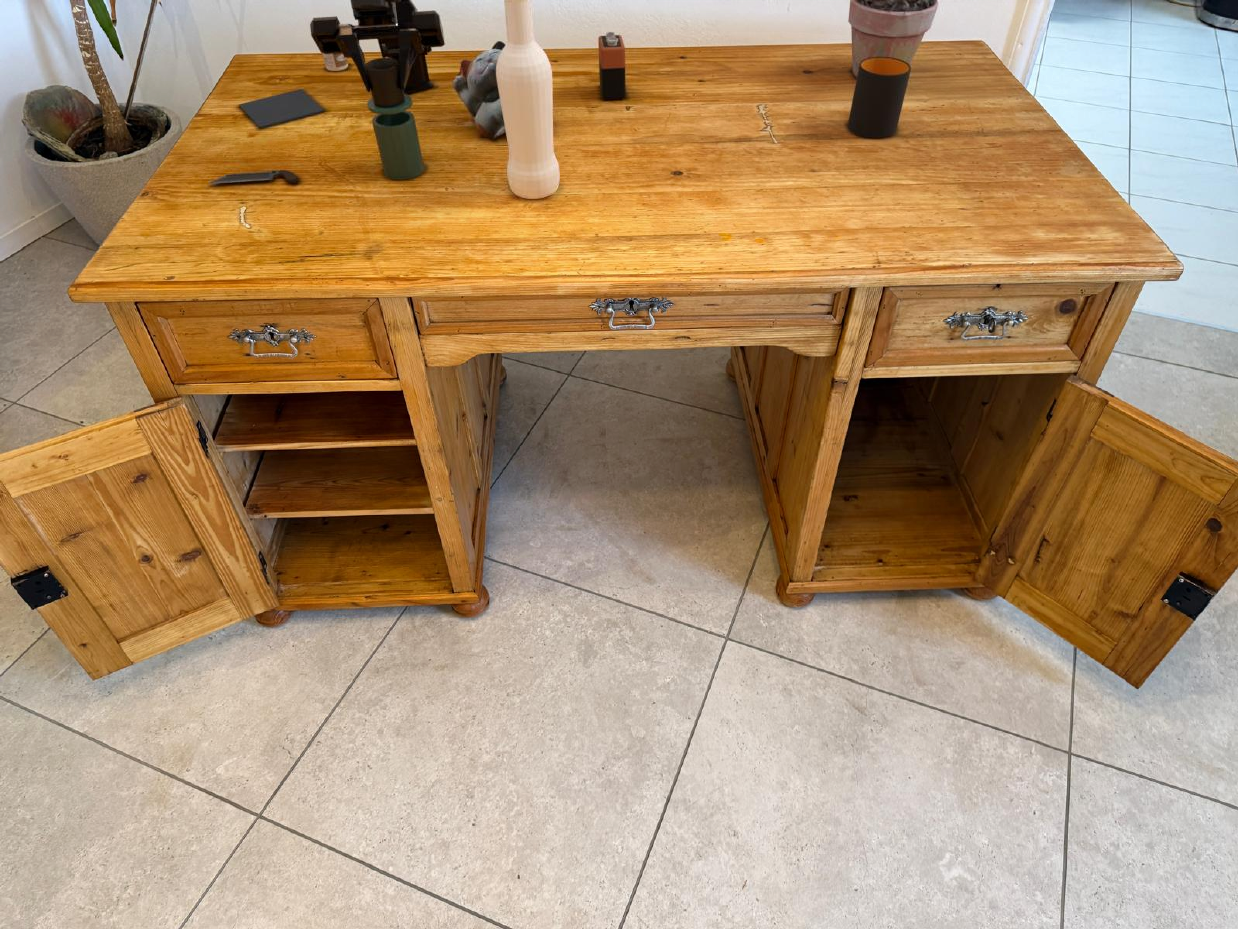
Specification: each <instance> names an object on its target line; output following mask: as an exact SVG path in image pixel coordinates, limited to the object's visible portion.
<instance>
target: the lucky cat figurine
mask: <svg viewBox="0 0 1238 929" xmlns="http://www.w3.org/2000/svg"><path fill="white" fill-rule="evenodd" d="M505 45H506V43H504V42H503V41H501V40H498V41H496V42H495V43H494V44H493V46H492V47H491V48H490V49H486V50H484V51H482V52H481V53H480V54H478V55H477V56H476V57H475V58H474V59H467V58H466V59H462V60H460V63H459V64H460V67H459V72H458V74H457V75H455V78H454V79H453V80H452V82H451V83H452V87H453V89H454V91H455V92H456V93H457V95H458V97H459V99H460V101H461V102H462V103H463V104H464V106H465V108H466V109H467V111H468V112H469V113H470V115H471V117H472V118H473V120H474V122H475V124H476V128H477V131H478V133H479V134H480V135H481V136H482V137H485V138H488V139H491V140H495V139H497V138H498V137H499V136H501V135H503V134H506V130H505V124H504V119H503V113H502V107H501V101H500V96H499V90H498V84H497V78H496V65H497V61H498V58H499V55H500V53H501V52H502V50H503V48H504V47H505Z"/></svg>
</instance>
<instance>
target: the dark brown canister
mask: <svg viewBox="0 0 1238 929" xmlns="http://www.w3.org/2000/svg"><path fill="white" fill-rule="evenodd" d="M365 68H366V72H367V77H368V81H369V85H370V93H371V98H369V99H368V101H367V103H366V107H367V109H368V111H369V112H371V113H373V114H376V115H378V114H385V115H391V114H397V113H400V112H403V111H408V110H409V109H410V108H411V107H412V106H413V105H414V104H413V103H414V102H413V98H412V97H411V96H410V95H409V94H404V90H402V88H401V83H400V71H399V66H398V62H397V61H396V60H395V59H392V58H388V57H385V58H382V57H378V58H373V59H370V60H369V61H367V62H366V64H365Z"/></svg>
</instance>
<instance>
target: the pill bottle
mask: <svg viewBox="0 0 1238 929" xmlns="http://www.w3.org/2000/svg"><path fill="white" fill-rule="evenodd" d="M321 54H322V57H323V61H324V66H325V69H326V70H328V71H329V72H339V71H344V70H346V69H347V68H348V67H349V61H348V58H346V57H344V56H343V54H342V53H336V54H324V53H321Z"/></svg>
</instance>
